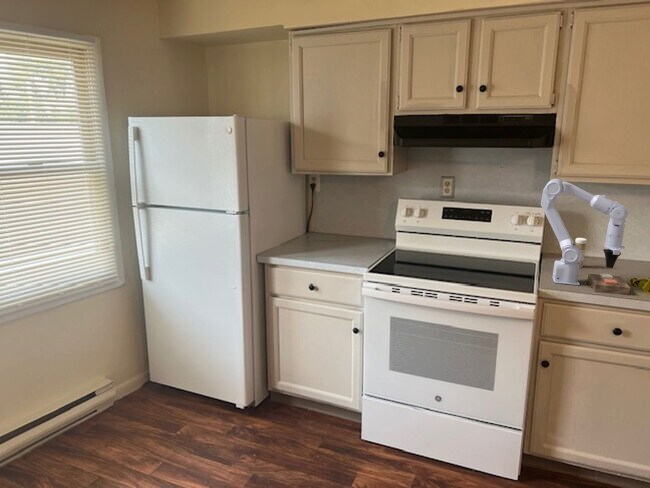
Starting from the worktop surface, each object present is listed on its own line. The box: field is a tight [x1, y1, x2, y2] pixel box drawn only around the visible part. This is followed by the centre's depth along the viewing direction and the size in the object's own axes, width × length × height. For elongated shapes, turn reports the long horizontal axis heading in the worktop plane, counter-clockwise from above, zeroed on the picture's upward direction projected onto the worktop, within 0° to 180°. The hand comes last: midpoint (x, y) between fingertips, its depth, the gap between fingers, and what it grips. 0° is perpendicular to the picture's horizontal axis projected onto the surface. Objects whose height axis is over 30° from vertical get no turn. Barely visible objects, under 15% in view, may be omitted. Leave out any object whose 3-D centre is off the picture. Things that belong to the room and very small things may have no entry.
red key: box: [603, 279, 617, 285], centre depth 194 cm, size 4×4×2 cm
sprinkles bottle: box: [574, 237, 588, 269], centre depth 224 cm, size 5×5×13 cm
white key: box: [599, 273, 613, 279], centre depth 201 cm, size 4×4×2 cm
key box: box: [587, 273, 631, 296], centre depth 197 cm, size 12×15×3 cm
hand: (609, 267), depth 195 cm, fingers closed
